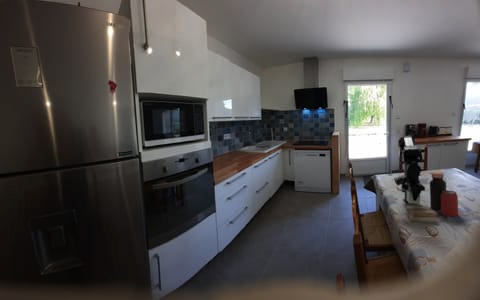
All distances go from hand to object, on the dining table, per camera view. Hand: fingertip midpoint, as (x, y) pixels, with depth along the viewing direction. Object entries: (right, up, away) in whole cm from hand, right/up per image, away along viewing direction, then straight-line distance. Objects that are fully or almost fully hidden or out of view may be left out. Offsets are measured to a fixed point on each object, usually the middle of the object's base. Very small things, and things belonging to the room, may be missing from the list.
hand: (413, 199), depth 131 cm
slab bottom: (-4, -7, -10) cm, 13 cm away
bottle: (+13, -5, -1) cm, 14 cm away
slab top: (-4, -5, -11) cm, 12 cm away
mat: (-4, -8, -10) cm, 13 cm away
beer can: (+12, -6, -9) cm, 16 cm away
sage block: (0, -2, 0) cm, 2 cm away
